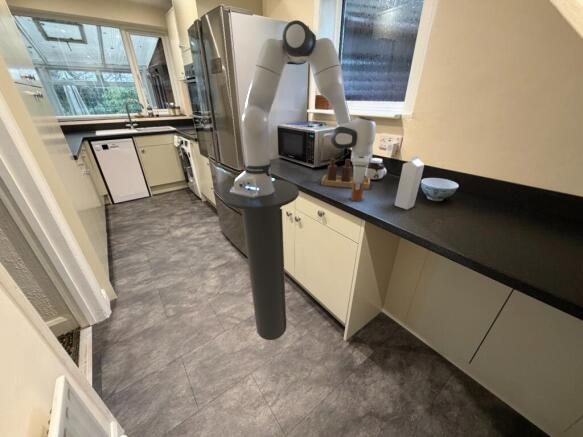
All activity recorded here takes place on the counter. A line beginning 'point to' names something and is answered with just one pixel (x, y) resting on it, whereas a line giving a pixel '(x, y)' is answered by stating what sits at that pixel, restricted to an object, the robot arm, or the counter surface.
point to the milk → (409, 183)
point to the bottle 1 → (332, 171)
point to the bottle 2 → (346, 171)
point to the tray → (344, 184)
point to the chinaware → (438, 188)
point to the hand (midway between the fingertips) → (357, 186)
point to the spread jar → (375, 170)
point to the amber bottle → (357, 192)
